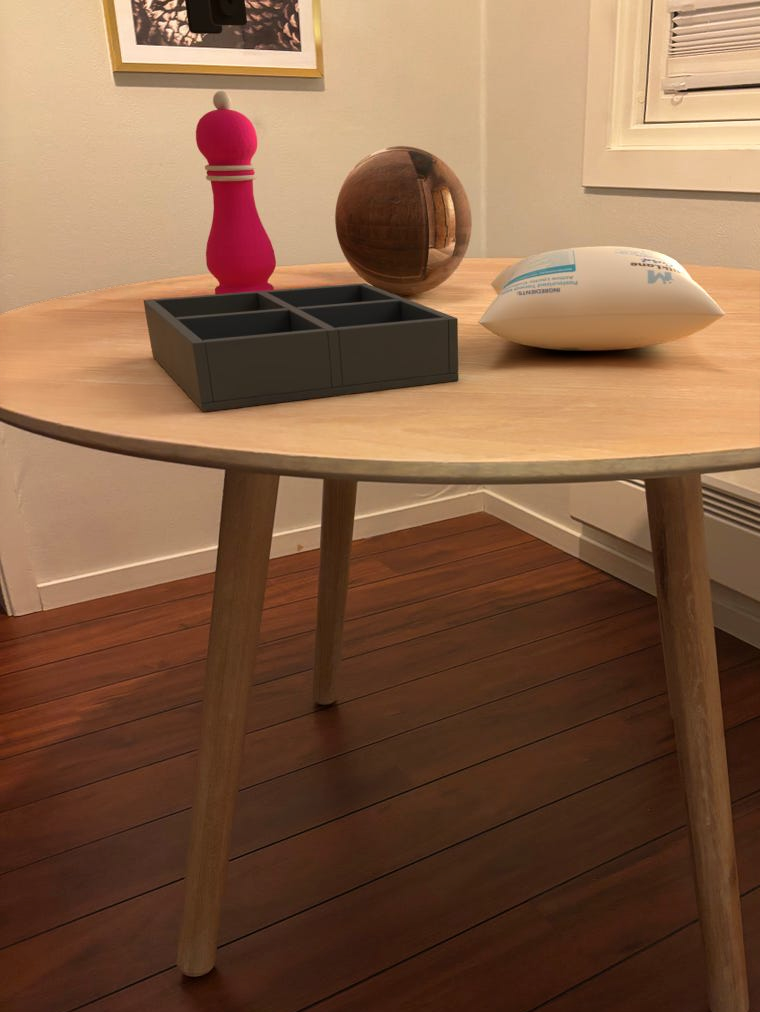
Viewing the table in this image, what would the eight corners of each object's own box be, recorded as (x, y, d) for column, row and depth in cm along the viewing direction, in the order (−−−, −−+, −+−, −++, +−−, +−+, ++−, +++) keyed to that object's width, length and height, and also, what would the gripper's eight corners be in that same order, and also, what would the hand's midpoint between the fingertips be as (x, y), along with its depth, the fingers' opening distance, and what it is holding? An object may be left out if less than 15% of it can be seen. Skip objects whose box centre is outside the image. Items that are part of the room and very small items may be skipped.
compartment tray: (202, 412, 64) (192, 343, 62) (152, 356, 80) (143, 299, 77) (458, 380, 72) (458, 318, 70) (368, 335, 87) (365, 283, 85)
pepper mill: (197, 305, 102) (167, 91, 92) (247, 296, 107) (223, 92, 97) (244, 312, 98) (217, 89, 88) (294, 302, 103) (273, 91, 94)
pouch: (491, 236, 89) (479, 254, 71) (694, 242, 89) (733, 262, 71) (488, 323, 93) (476, 361, 75) (684, 330, 92) (718, 370, 74)
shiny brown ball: (330, 287, 112) (319, 145, 105) (451, 281, 116) (449, 144, 109) (354, 308, 100) (343, 148, 93) (489, 300, 104) (489, 147, 96)
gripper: (127, -183, 87) (160, 35, 96) (161, -240, 74) (197, 20, 82) (208, -175, 90) (234, 36, 99) (256, -228, 77) (281, 22, 85)
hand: (217, 29), depth 90 cm, fingers open, 9 cm apart
